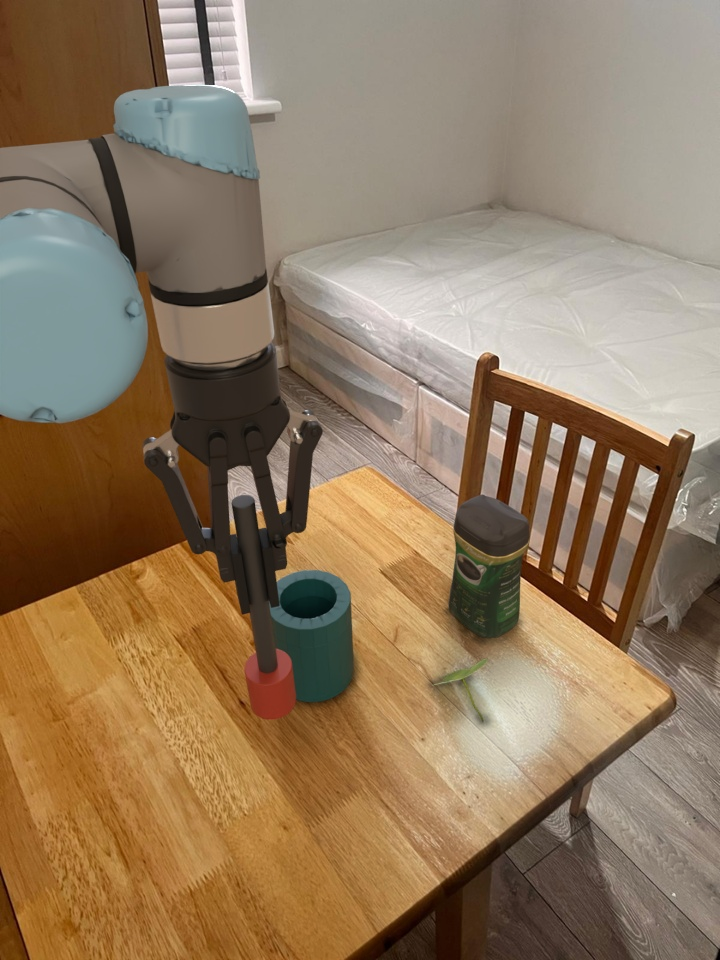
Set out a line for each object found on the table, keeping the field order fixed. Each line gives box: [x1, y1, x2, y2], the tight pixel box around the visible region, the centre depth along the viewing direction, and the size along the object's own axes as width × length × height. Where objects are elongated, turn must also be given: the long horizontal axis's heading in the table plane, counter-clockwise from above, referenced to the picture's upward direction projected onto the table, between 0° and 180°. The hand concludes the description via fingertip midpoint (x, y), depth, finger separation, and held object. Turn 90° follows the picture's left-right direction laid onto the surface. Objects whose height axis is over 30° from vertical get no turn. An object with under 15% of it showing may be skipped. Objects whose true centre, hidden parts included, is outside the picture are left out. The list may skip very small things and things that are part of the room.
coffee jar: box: [448, 493, 530, 639], centre depth 97 cm, size 10×8×19 cm
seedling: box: [433, 658, 489, 722], centre depth 90 cm, size 7×8×7 cm
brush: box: [230, 494, 297, 721], centre depth 63 cm, size 4×4×24 cm
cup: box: [269, 569, 355, 703], centre depth 92 cm, size 10×10×13 cm
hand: (258, 599), depth 63 cm, fingers closed on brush, 2 cm apart
